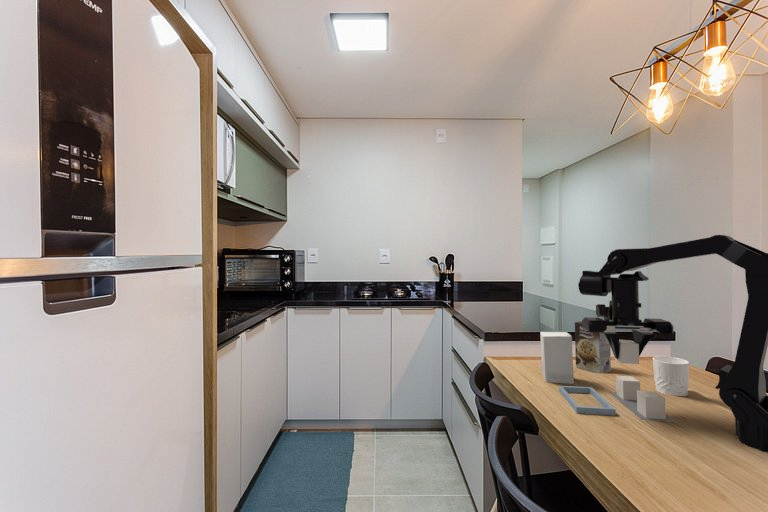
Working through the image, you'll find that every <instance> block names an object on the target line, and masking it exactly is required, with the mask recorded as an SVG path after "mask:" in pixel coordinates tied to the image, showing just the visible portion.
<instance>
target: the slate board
mask: <svg viewBox="0 0 768 512" xmlns="http://www.w3.org/2000/svg"><path fill="white" fill-rule="evenodd" d="M608 393H609V394H610V395H612V396H613V397H614V399H616V400H618V401H619V402H620V403H621V404H622V405H623V406H624V407H625V408H626V409H628V410H629V411H630V412H631V413H633V414H634V415H635V416H636V417H637V418H638V419H640V420H641V421H648V422H649V421H651V422H653V421H654V422H668V423H669V422H670V423H676V420H674V419H673V418H671V417H670V416H669V415H667V414H666V419H650V418H645V417H644V416H643V415H642V414H640V413H639V412H638V411H637V400H623V399H622V398H621V397H620V396H619V395H617V392H614V391H613V392H611V391H609V392H608Z"/></svg>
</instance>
